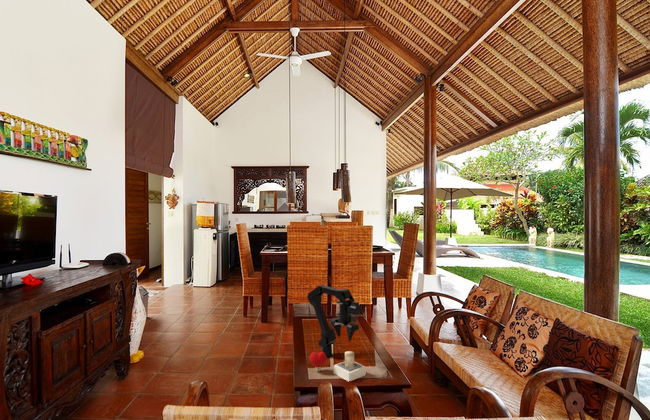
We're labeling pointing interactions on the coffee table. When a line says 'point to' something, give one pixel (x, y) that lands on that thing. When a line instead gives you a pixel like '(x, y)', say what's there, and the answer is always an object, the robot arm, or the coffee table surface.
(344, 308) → the robot arm
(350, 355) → the beech pin
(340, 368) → the socket block
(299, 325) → the coffee table surface
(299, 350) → the coffee table surface
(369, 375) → the coffee table surface
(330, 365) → the coffee table surface
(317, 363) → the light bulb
